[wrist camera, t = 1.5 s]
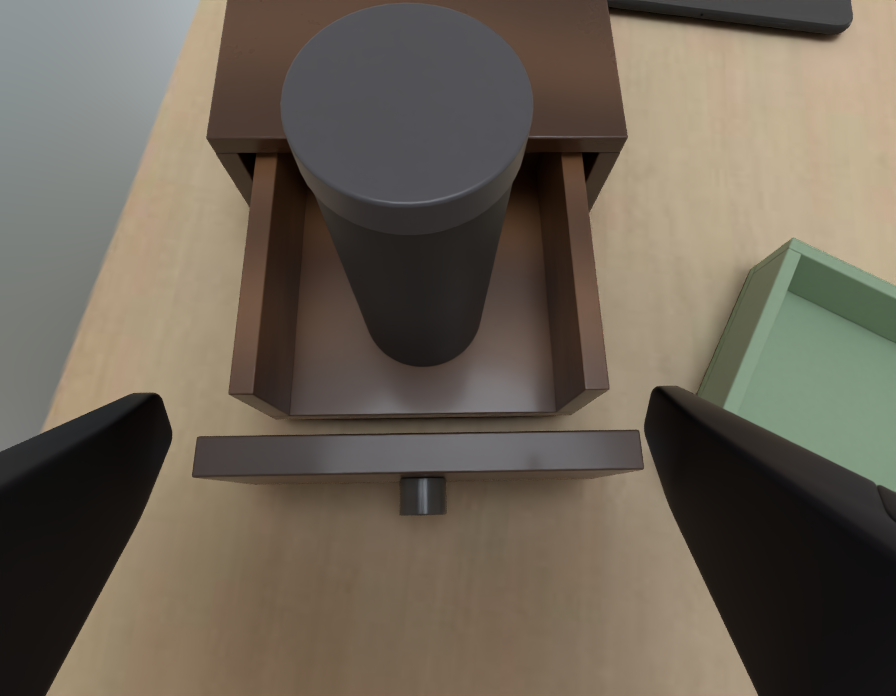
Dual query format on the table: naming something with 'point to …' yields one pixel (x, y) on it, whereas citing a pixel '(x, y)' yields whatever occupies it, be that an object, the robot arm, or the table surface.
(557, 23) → the cabinet
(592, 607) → the table surface
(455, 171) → the canister
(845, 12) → the smartphone
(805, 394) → the tray
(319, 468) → the drawer
